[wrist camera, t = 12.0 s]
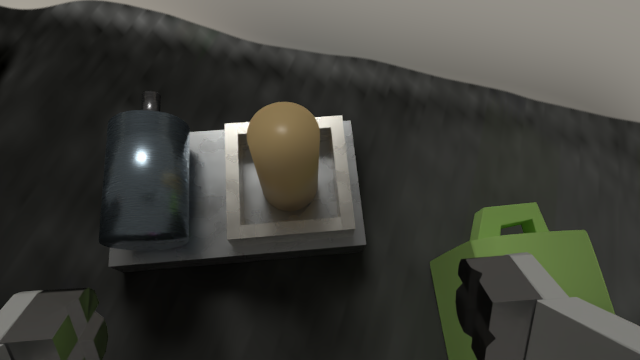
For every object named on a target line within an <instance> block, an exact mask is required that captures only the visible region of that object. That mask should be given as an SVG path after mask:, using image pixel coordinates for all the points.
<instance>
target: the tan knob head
mask: <svg viewBox="0 0 640 360" xmlns="http://www.w3.org/2000/svg"><path fill="white" fill-rule="evenodd" d="M247 142H248V146H249V149H250V152H251V156H252V159H253V162H254V165H255V168H256V172H257V175H258V178H259V181H260V185H261V188H262V191H263V194H264V196H265V198H266V200H267V201H268V202H269V203H270V204H271V205H272V206H273V207H275V208H277V209H279V210H282V211H296V210H300V209H302V208H304V207H306V206H307V205H308V204H309V203H310V202H311V201H312V200H313V199H314V197H315V195H316V192H317V188H318V168H319V147H320V129H319V125H318V122H317V120H316V119H315V117H314V116H313V115H312V113H311V112H310V111H308V110H307V109H306V108H304V107H303V106H300V105H298V104H295V103H291V102H277V103H273V104H270V105H267V106H265V107H263V108H262V109H261V110H259V111H258V112H257V113H256V114H255V115H254V116H253V118H252V119H251V121H250V123H249V125H248V129H247Z"/></svg>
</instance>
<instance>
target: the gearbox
mask: <svg viewBox="0 0 640 360" xmlns="http://www.w3.org/2000/svg"><path fill="white" fill-rule="evenodd" d="M516 225H521V226H522V229H523V232H524V233H523V234H512V235H502V236H500V232H501V229H502V228H507V227H511V226H516ZM524 252H528V253H530V254H532V255H533V256H534V257H535V259H536V260H537V261H538V262H539V263H540V264H541V265H542V267H543V268H544V269H545V270H546V271H547V272H548V273H549V275H550V276H551V277H552V278H553V279H554V280H555V281H556V283H557V284H558V285H559V286H560V287H561V288H562V289H563V291H564V292H565V293H566V294H567V295H568V296H569V297H578V298H580V299H582V300H584V301H586V302H588V303H591V304H593V305H595V306H597V307H599V308H601V309H604V310H606V311H608V312H610V313H612V314H614V315H615V312H614V309H613V306H612V303H611V300H610V297H609V294H608V291H607V288H606V285H605V282H604V279H603V276H602V273H601V270H600V267H599V264H598V261H597V258H596V255H595V252H594V250H593V247H592V244H591V241H590V239H589V236H588V234H587V232H586V231H585V230H570V231H551V232H549V231H548V228H547V226H546V224H545V221H544V219H543V217H542V215H541V212H540V210H539V208H538V205H537V203H536V202H535V203H525V204H516V205H506V206H496V207H486V208H483V209H481V210H480V211H478V212H477V213H475V215H474V221H473V226H472V231H471V236H470V241H468V242H466V243H464V244H462V245H460V246H458V247H456V248H454V249H452V250H450V251H448V252H446V253H444V254H443V255H441V256H439V257H437V258H435V259H434V260H432V261H431V262H430V267H431V273H432V278H433V283H434V289H435V294H436V299H437V304H438V309H439V315H440V320H441V325H442V330H443V335H444V340H445V344H446V349H447V354H448V359H449V360H477V358H476V356H475V354H474V352H473V350H472V348H471V344H472V337H470V336H469V335H467V334H466V333H464V332H463V330H462V327H461V325H460V323H459V320H458V316H457V311H456V303H455V300H456V290H457V289H458V288H459V286H460V285H461V284H462V281H461V279H460V277H459V276H458V267H459V263H460V260H461V259H467V258H478V257H490V256H502V255H505V254H514V253H524Z"/></svg>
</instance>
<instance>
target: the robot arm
mask: <svg viewBox="0 0 640 360" xmlns="http://www.w3.org/2000/svg"><path fill="white" fill-rule="evenodd" d="M458 276H459V277H460V279H461V281H462V284H461V285H460V286H459V288H458V289H457V290H456V300H455V303H456V311H457V316H458V320H459V323H460V325H461V327H462V330H463V332H464V333H466V334H467V335H469V336H470V337H472V344H471V348H472V350H473V352H474V354H475V356H476V358H477V360H640V326H638V325H636V324H634V323H631V322H629V321H627V320H625V319H623V318H621V317H619V316H616V315H614V314H612V313H610V312H608V311H606V310H604V309H601V308H599V307H597V306H595V305H593V304H591V303H588V302H586V301H584V300H582V299H580V298H578V297H569V296H568V295H567V294H566V293H565V292H564V291H563V289H562V288H561V287H560V286H559V285H558V284H557V283H556V281H555V280H554V279H553V278H552V277H551V276H550V275H549V273H548V272H547V271H546V270H545V269H544V268H543V267H542V265H541V264H540V263H539V262H538V261H537V260H536V259H535V257H534V256H533V255H532V254H530V253H528V252H524V253H514V254H505V255H502V256H490V257H478V258H467V259H461V260H460V263H459V267H458ZM98 304H99V301H98V298H97V295H96V293H95V290H93V289H91V288H73V289H55V290H44V291H41V290H40V291H26V292H20V293H17V294H14V295H13V296H12V297H11V298H10V300H9V301H8V302H7V303H6V304H5V305H4V307H3V308H2V309H1V310H0V360H102V359H103V357H104V354H105V352H106V347H107V342H108V331H107V325H106V322H105V319H104V318H103V317H102V316H100V315H99V314H98V313H97V312H95V310H96V308H97V306H98Z"/></svg>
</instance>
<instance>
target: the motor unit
mask: <svg viewBox="0 0 640 360" xmlns="http://www.w3.org/2000/svg"><path fill="white" fill-rule="evenodd" d="M160 101H161V96H160V94H159V93H157V92H154V91H146V92H144V93H143V94H142V108H141V110H134V111H127V112H123V113H120V114H117V115H115V116H113V117H112V118H111V119H110V120H109V122H108V130H107V143H106V156H105V168H104V181H103V193H102V206H101V219H100V231H99V243H100V244H102V245H104V246H107V247H110V253H109V267H111V268H113V269H116V270H118V271H121V272H124V273H125V272H137V271H148V270H160V269H171V268H183V267H194V266H206V265H218V264H229V263H241V262H252V261H264V260H276V259H287V258H299V257H310V256H322V255H333V254H345V253H357V252H362V251H363V250H364V248H365V246H366V239H365V231H364V223H363V215H362V207H361V199H360V191H359V183H358V175H357V168H356V160H355V152H354V144H353V136H352V128H351V121H343V120H342V116H328V117H315V119H316V120H317V122H318V125H319V129H320V147H319V168H318V188H317V192H316V195H315V197H314V199H313V200H312V201H311V202H310V203H309V204H308V205H307V206H306V207H304V208H302V209H300V210H296V211H282V210H279V209H277V208H275V207H273V206H272V205H271V204H270V203H269V202H268V201H267V200H266V198H265V196H264V194H263V191H262V188H261V185H260V181H259V178H258V175H257V172H256V168H255V165H254V162H253V159H252V156H251V152H250V149H249V146H248V142H247V129H248V125H249V123H250V122H243V123H229V124H225V130H215V131H201V132H190V128H189V126H188V125H187V123H186V122H184V121H183V120H182V119H180V118H178V117H176V116H173V115H171V114H167V113H164V112H160Z"/></svg>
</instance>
